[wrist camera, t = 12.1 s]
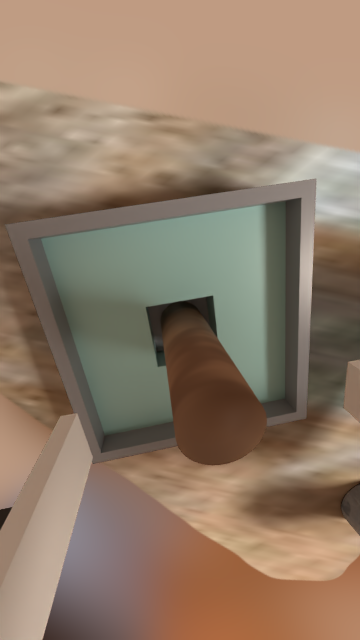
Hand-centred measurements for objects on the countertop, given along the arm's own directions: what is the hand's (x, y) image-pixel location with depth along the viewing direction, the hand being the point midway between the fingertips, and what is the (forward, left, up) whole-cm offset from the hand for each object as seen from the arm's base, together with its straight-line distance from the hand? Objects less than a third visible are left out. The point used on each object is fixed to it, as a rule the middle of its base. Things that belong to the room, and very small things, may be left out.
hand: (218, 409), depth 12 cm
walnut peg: (0, 0, -13) cm, 13 cm away
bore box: (0, 0, -14) cm, 14 cm away
